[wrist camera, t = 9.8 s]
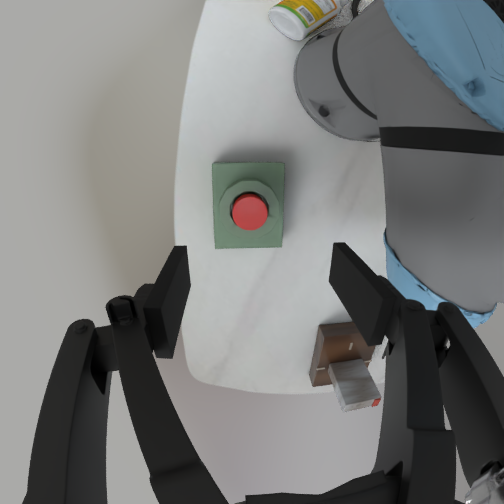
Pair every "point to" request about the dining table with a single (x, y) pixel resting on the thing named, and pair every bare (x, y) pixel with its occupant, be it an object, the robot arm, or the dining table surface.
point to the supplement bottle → (303, 16)
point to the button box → (247, 182)
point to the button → (249, 212)
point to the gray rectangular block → (353, 385)
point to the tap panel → (337, 350)
